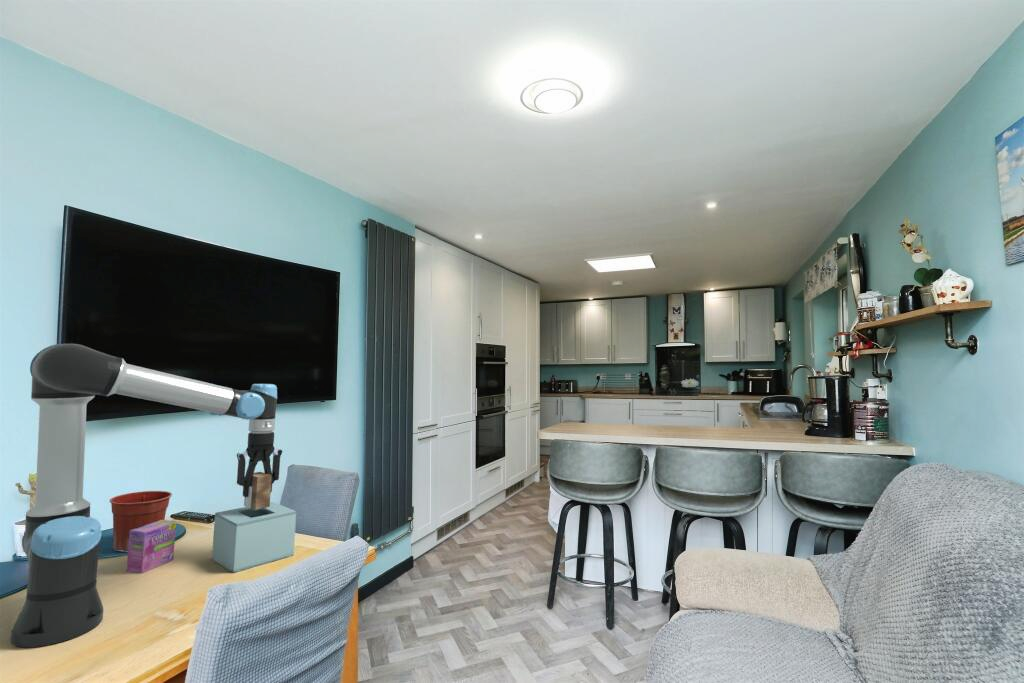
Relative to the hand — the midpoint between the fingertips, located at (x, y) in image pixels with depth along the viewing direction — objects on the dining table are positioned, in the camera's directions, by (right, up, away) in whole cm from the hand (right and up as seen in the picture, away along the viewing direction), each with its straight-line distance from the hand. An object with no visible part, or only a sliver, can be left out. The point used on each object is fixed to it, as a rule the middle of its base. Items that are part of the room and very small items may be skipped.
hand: (256, 505), depth 152 cm
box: (-27, -15, -10) cm, 32 cm away
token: (0, 0, 0) cm, 0 cm away
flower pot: (-42, -15, +5) cm, 45 cm away
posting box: (-1, -16, -1) cm, 16 cm away
